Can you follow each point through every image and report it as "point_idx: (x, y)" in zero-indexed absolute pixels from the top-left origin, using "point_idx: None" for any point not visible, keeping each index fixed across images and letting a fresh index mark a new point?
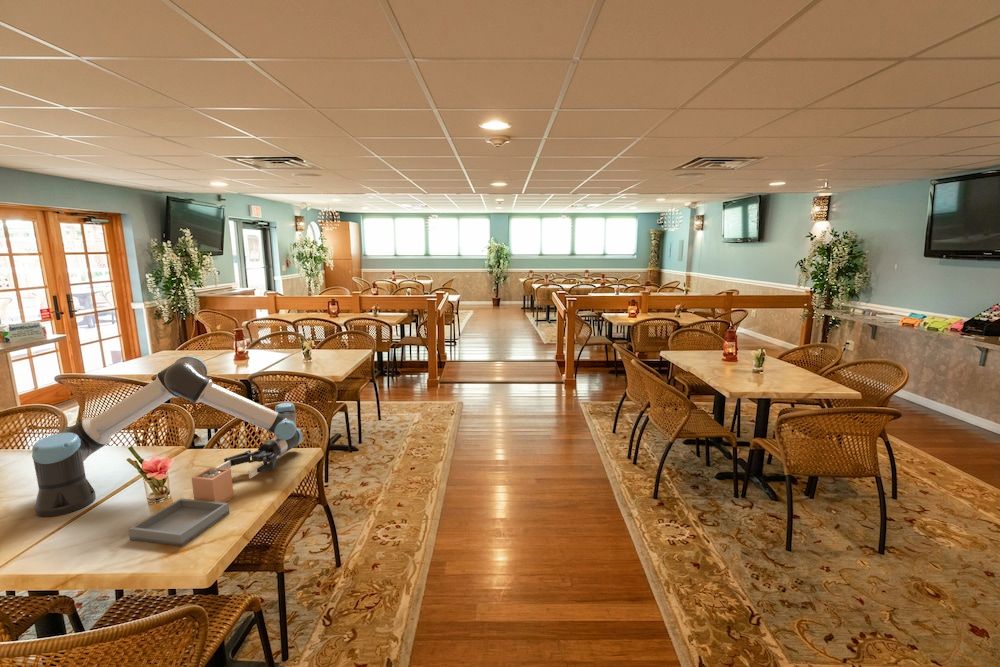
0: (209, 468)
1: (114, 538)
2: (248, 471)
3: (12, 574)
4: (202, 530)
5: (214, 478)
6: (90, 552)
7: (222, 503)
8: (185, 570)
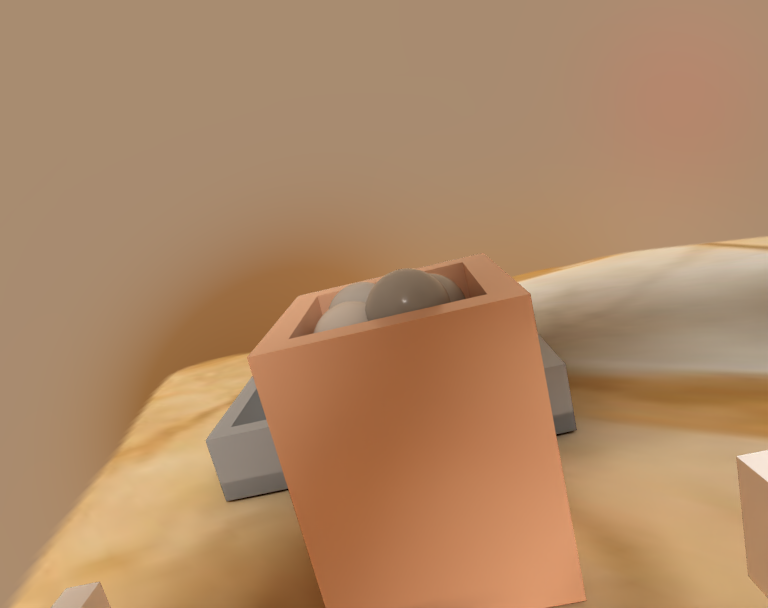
0: (512, 289)
1: (574, 316)
2: (101, 590)
3: (615, 254)
4: None
5: (295, 300)
6: (550, 297)
7: (241, 428)
8: (218, 367)
